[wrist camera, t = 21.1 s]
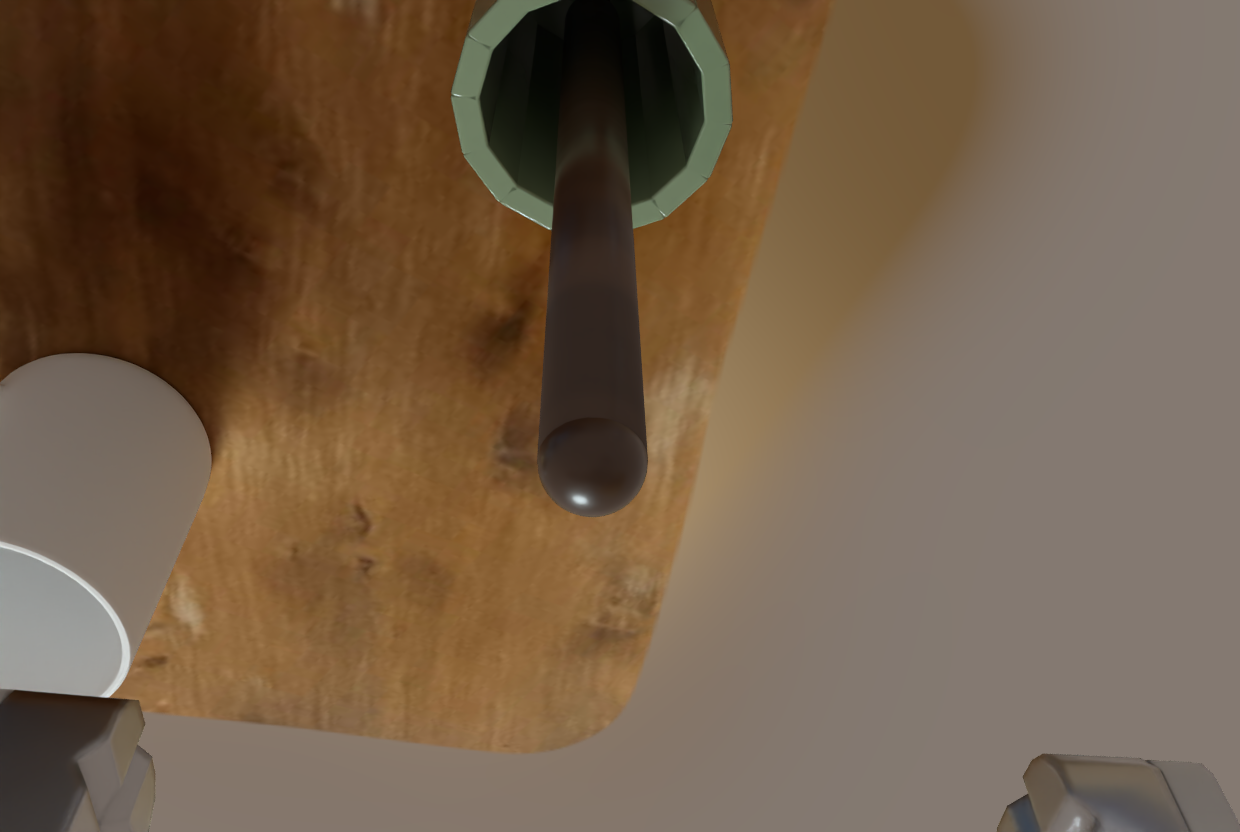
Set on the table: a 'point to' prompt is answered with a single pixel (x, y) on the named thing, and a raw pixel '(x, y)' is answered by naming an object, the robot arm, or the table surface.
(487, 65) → the crock
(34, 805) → the robot arm
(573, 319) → the dark wooden dowel
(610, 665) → the table surface
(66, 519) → the cup
